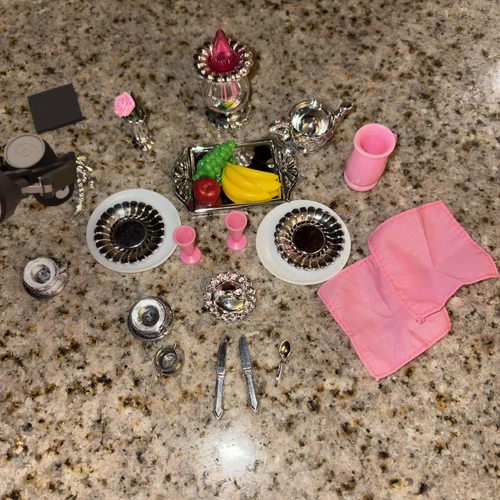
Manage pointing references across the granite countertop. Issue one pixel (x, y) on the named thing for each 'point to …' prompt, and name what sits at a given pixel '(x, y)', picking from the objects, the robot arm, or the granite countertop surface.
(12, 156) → the beverage can
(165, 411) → the granite countertop surface
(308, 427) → the granite countertop surface
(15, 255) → the granite countertop surface
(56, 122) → the mat
